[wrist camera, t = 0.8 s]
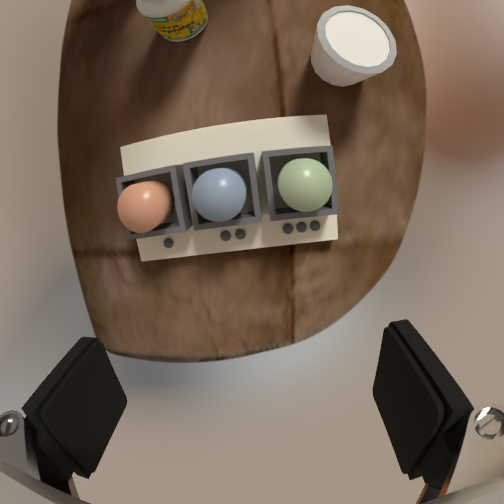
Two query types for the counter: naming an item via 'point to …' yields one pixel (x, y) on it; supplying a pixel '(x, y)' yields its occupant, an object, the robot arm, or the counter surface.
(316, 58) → the white tapered cup
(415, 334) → the robot arm
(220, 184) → the button two
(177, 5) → the supplement bottle
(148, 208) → the button one
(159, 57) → the counter surface
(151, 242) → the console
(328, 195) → the button three
